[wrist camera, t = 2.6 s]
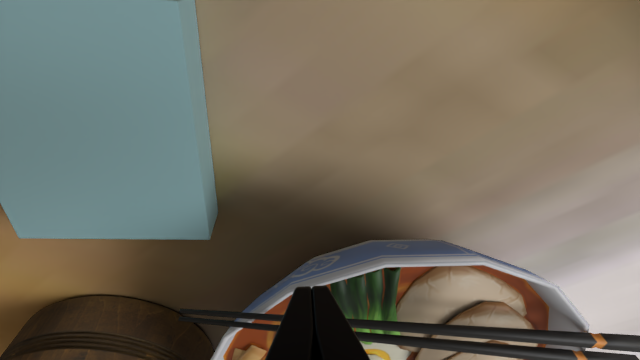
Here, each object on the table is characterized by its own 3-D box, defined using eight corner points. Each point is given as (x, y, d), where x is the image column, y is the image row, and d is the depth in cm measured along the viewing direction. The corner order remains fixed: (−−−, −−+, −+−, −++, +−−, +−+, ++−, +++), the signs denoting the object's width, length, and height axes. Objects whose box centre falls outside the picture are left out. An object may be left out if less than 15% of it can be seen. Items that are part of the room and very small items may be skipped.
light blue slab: (194, -4, 15) (178, 1, 13) (218, 212, 21) (209, 239, 19) (-57, -23, 14) (-120, -21, 12) (47, 209, 20) (19, 238, 18)
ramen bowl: (197, 364, 30) (169, 482, 23) (221, 133, 18) (178, 234, 12) (449, 380, 35) (487, 483, 28) (594, 204, 23) (723, 306, 16)
